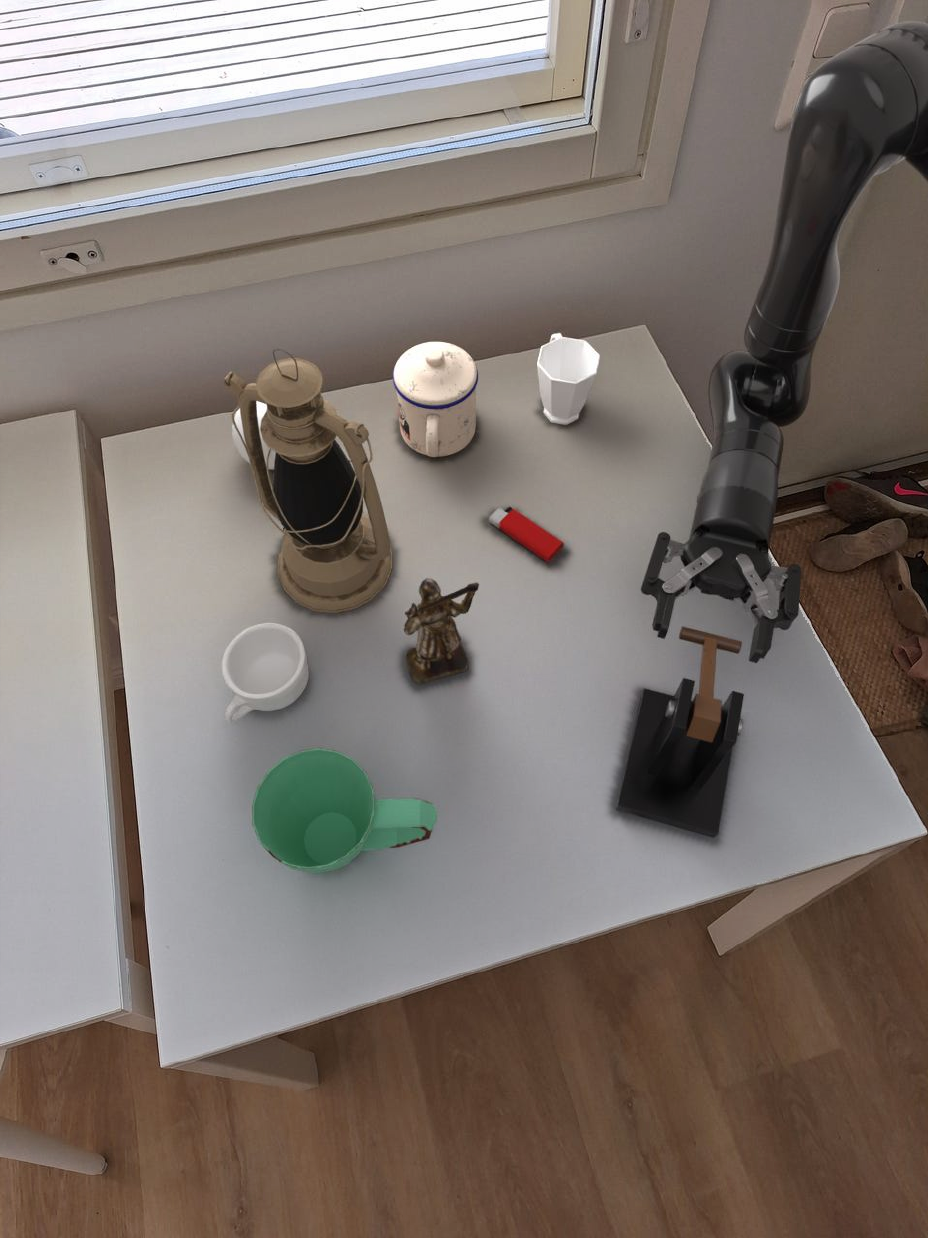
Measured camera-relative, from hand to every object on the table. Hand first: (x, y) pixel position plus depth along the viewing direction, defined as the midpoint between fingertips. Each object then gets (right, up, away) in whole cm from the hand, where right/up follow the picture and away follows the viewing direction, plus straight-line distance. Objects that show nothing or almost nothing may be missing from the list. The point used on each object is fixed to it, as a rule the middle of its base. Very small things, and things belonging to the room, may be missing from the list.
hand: (708, 646), depth 81 cm
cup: (-11, +28, +23) cm, 38 cm away
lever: (-1, -4, -4) cm, 5 cm away
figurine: (-24, -2, +7) cm, 25 cm away
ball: (-44, +21, +19) cm, 52 cm away
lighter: (-16, +11, +14) cm, 24 cm away
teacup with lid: (-25, +23, +20) cm, 40 cm away
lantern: (-36, +8, +12) cm, 39 cm away
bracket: (-3, -11, +1) cm, 11 cm away
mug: (-32, -17, -2) cm, 36 cm away
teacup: (-41, -5, +5) cm, 42 cm away
